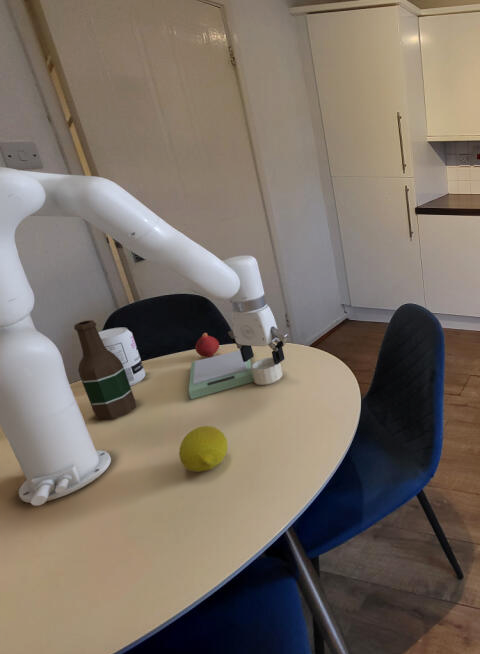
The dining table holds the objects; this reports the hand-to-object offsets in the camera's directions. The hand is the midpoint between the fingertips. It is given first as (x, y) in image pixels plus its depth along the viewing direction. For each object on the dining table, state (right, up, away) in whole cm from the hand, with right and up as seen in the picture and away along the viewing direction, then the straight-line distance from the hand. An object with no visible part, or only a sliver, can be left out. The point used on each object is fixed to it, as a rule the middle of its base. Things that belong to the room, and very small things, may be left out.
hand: (264, 360), depth 113 cm
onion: (-25, -2, +14) cm, 29 cm away
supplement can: (-39, -6, +2) cm, 40 cm away
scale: (-14, -5, +4) cm, 15 cm away
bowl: (0, -6, +2) cm, 6 cm away
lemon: (+6, -15, -28) cm, 33 cm away
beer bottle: (-30, -10, -11) cm, 33 cm away
